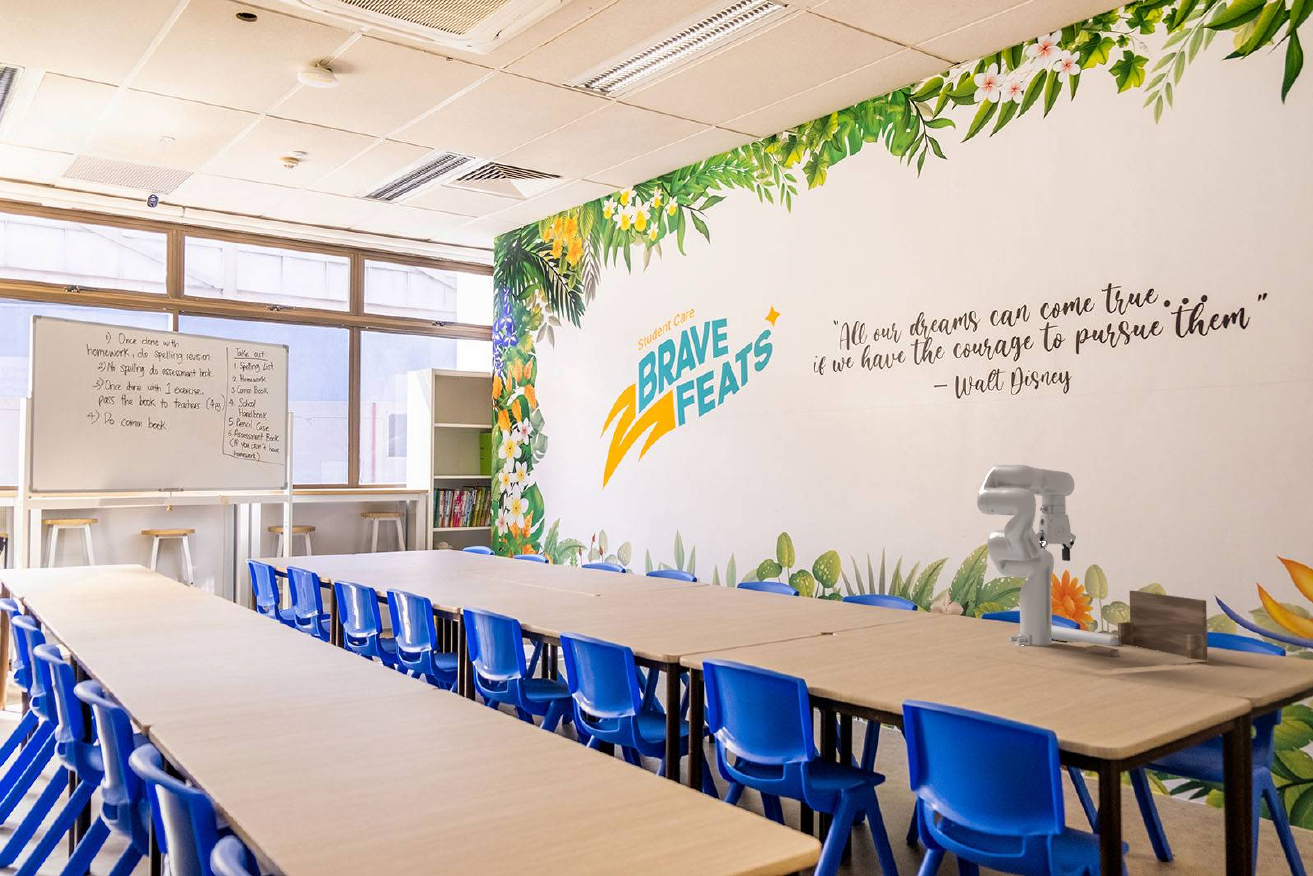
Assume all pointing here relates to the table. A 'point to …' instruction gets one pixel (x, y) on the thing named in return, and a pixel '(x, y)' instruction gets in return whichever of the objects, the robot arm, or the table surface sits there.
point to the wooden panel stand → (1166, 624)
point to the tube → (1083, 636)
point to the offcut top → (1102, 651)
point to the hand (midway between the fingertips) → (1054, 561)
